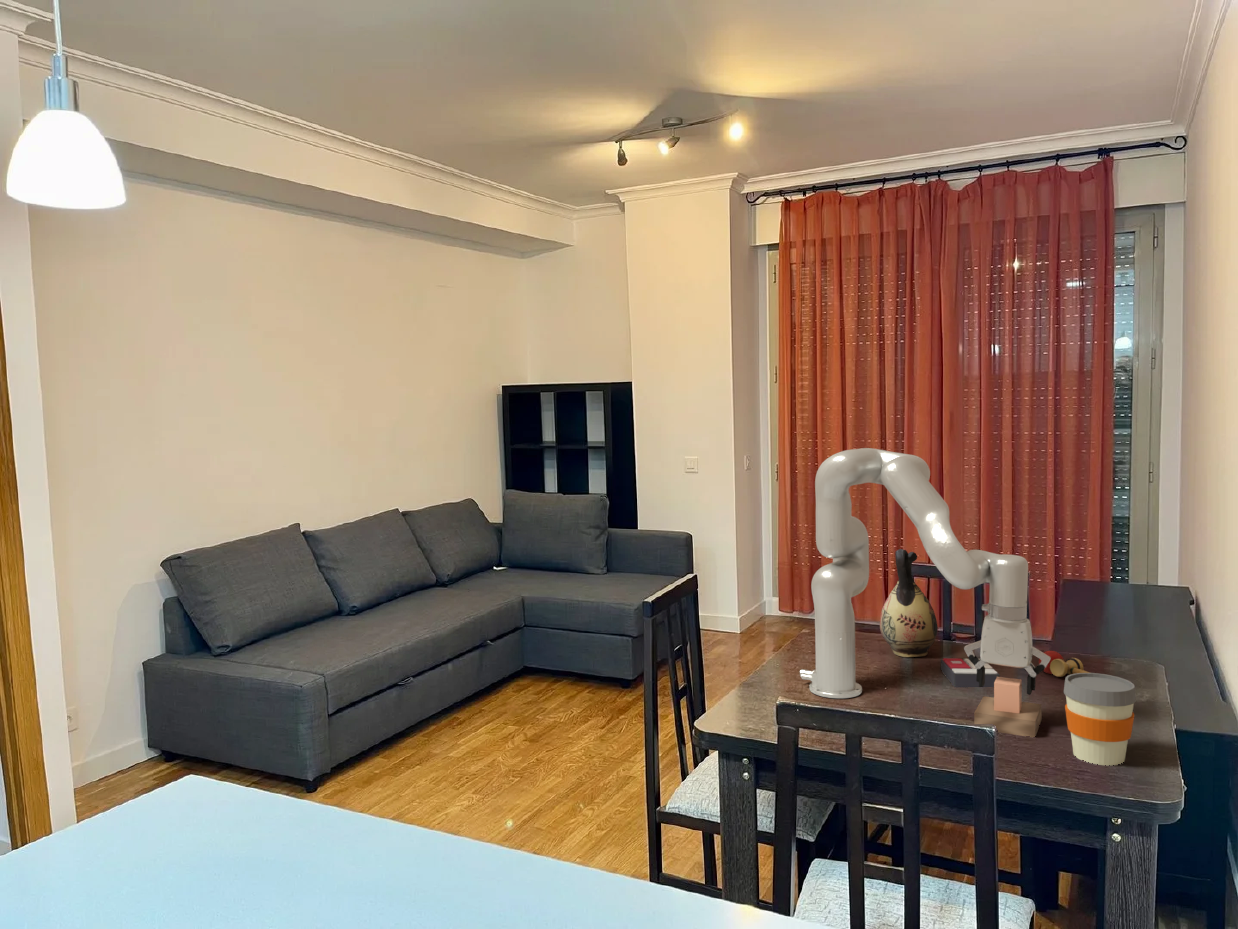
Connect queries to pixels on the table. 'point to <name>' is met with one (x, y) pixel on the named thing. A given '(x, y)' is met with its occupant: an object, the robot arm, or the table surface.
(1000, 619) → the robot arm
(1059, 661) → the kendama
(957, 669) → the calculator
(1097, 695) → the reusable coffee cup
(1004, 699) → the block
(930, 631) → the ceramic jug
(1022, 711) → the base
